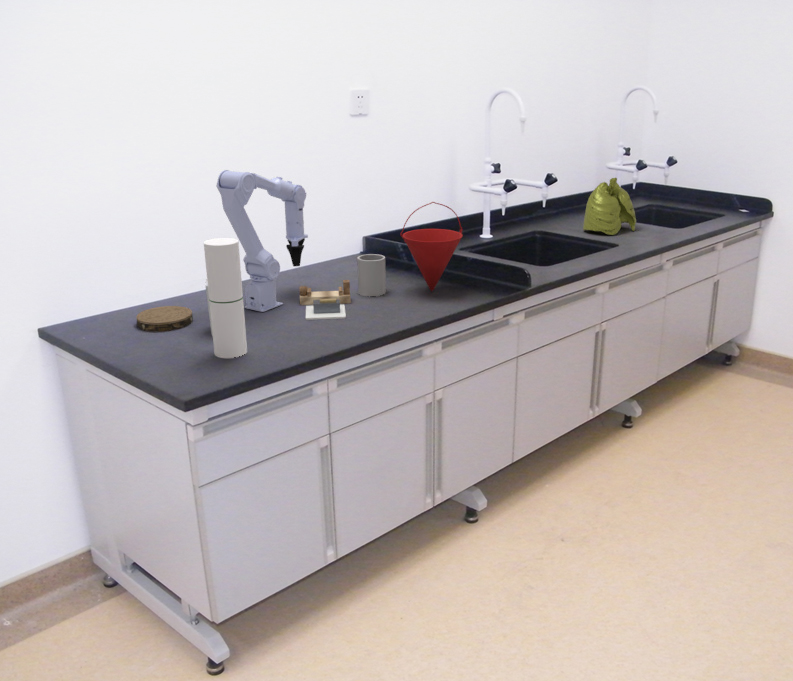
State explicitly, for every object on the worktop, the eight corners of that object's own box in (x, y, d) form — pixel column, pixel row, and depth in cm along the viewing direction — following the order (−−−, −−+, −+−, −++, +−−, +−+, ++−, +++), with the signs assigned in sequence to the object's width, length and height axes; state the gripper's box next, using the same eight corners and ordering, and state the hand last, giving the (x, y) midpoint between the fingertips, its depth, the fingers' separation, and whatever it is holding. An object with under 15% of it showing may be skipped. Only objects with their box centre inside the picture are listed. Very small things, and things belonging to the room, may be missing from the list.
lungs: (603, 238, 326) (609, 181, 318) (576, 232, 338) (581, 177, 330) (641, 230, 340) (647, 176, 331) (614, 225, 352) (619, 172, 343)
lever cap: (313, 313, 230) (313, 301, 229) (313, 309, 234) (313, 298, 232) (340, 312, 231) (339, 301, 229) (339, 308, 234) (339, 297, 233)
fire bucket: (450, 280, 265) (452, 194, 255) (473, 296, 248) (475, 204, 237) (392, 286, 259) (391, 198, 249) (410, 302, 242) (410, 208, 231)
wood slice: (164, 312, 235) (163, 303, 234) (204, 319, 228) (203, 310, 227) (125, 327, 222) (124, 318, 221) (166, 336, 215) (165, 326, 214)
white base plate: (305, 320, 226) (305, 318, 226) (306, 307, 237) (306, 305, 237) (345, 318, 227) (345, 316, 227) (344, 306, 238) (344, 304, 238)
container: (218, 346, 206) (208, 237, 195) (250, 346, 205) (241, 237, 195) (210, 358, 198) (199, 245, 187) (243, 358, 197) (234, 245, 187)
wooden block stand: (299, 305, 240) (298, 285, 238) (300, 299, 246) (299, 280, 243) (350, 303, 241) (350, 283, 239) (349, 297, 247) (349, 278, 245)
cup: (353, 294, 250) (352, 259, 246) (366, 287, 258) (365, 253, 254) (377, 298, 247) (377, 262, 242) (390, 290, 254) (389, 255, 250)
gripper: (306, 226, 237) (308, 268, 242) (307, 217, 251) (309, 257, 255) (284, 226, 236) (286, 269, 241) (285, 217, 250) (288, 257, 255)
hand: (296, 263), depth 248 cm, fingers open, 7 cm apart
